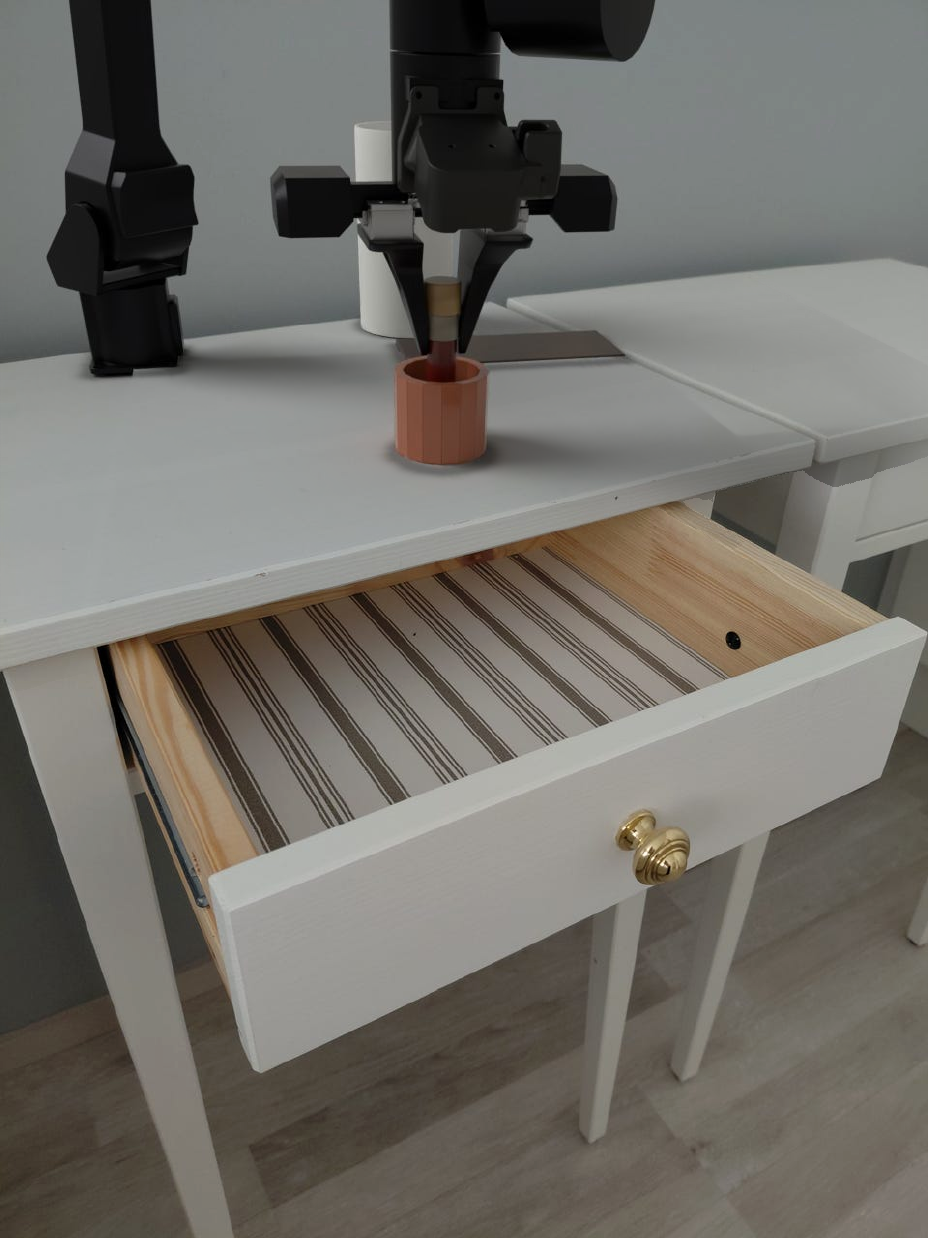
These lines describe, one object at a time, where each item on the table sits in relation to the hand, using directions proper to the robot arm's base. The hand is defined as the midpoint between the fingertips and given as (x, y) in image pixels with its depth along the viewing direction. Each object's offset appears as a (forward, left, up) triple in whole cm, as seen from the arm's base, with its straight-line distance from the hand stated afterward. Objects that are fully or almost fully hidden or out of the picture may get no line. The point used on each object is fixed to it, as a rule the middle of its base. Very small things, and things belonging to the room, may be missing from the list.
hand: (441, 352), depth 56 cm
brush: (0, 0, -6) cm, 6 cm away
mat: (+10, +19, -6) cm, 23 cm away
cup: (+3, +29, -7) cm, 30 cm away
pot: (0, 0, -6) cm, 6 cm away
